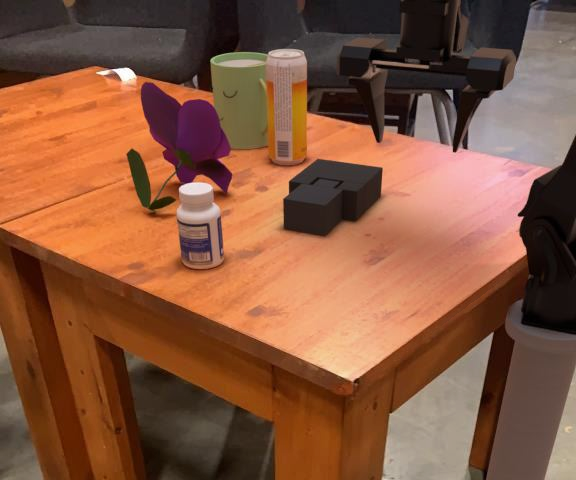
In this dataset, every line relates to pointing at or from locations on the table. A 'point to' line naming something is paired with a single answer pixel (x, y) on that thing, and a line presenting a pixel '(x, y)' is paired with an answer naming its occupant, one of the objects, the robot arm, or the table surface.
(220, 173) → the flower
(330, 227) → the black block
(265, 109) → the mug
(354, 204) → the black notched block
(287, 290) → the table surface
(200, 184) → the pill bottle
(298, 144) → the beer can
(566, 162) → the robot arm
